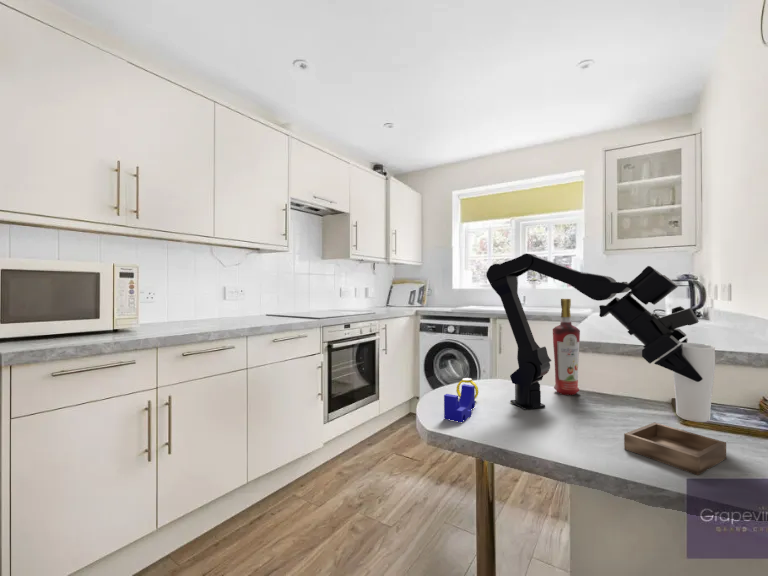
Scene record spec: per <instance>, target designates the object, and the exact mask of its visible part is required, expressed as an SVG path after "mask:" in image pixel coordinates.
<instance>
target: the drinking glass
mask: <svg viewBox="0 0 768 576" xmlns="http://www.w3.org/2000/svg"><path fill="white" fill-rule="evenodd" d="M681 344H683V355H684V356H685V358H686V359H687V360H688V361H689V362H690V363H691V365H692V366H693V367H694V368H695V369H696V371H697V372H698V373H699V374H700V376H701V377H702V378H703V379H702V380H701V381H699V382H696V381H694V380H692V379H690V378H687V377H685V376H683V375H681V374H678V373H676V372H674V371H672V376H673V377H672V378H673V386H674V397H675V413H676V415H677V416H678V417H679V418H681V419H683V420H687V421H691V422H696V423H707V422H709V421H710V419H711V407H712V406H711V405H712V395H713V388H714V383H715V382H714V380H715V372H716V371H715V370H716V350H715V348H716V347H715V346H714V345H711V344H705V343H696V342H687V343H679V344H678V345H677V346H679V345H681Z"/></svg>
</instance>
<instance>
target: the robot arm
mask: <svg viewBox="0 0 768 576" xmlns="http://www.w3.org/2000/svg"><path fill="white" fill-rule="evenodd" d="M529 271H532V272H535V273H538V274H540V275H543V276H546V277H547V278H551V279H554V280H555V281H558V282H561V283H564V284H566V285H569V286H570V287H573V288H574V289H575V290H577V291H578V292H579V293H581V294H583V295H584V296H586V297H588V298H590V299H591V300H593V301H607V300H610V301H609V302H608V303H607V304H606V305H605V304H600V305H599V315H598V316H599V318H605V317H607V316H608V315H609V314H610V315H611V316H612V317H614V319H616V320H617V321H618V322H619V323H620V324H621V325H622V326H623V327H624V328H626V329H627V333H628V334H629V335H630V336H632V335H633V336H634V337H635V338H637V340H639V342H641V344H643V346H642V347H643V349H642V350H641V358H643V359H644V360H645V361H646V362H647V363H648V364H652V363H653V365H657V366H660V367H662V368H665V369H667V370H669V371H672V372H673V371H674V372H676V373H678V374H681V375H683V376H685V377H687V378H690V379H692V380H694V381H696V382H699V381H701V380H702V379H703V378H702V377H701V376H700V374H699V373H698V372H697V371H696V369H695V368H694V367H693V366H692V365H691V363H690V362H689V361H688V360H687V359H686V358H685V356H684V355H683V344H681V345H679V346H677V345H678V344H679V343H688V341H689V340H688V338H687V334H686V333H685V332H684V331H683V330H681V327H685V326H693V325H696V324H698V323H699V322H700V321H699V319H698V317H697V316H696V314H695V312H694V311H693V309H692V307H689V308H684V307H683V306H680V305H679V306H676V307H674V308H672V309H671V313H669V314H666V315H663V316H659V315H658V314H657V313H652V312H650V311H649V310H648V309H647V308H646V307H644V305H645V306H647V305H648V304H649V303H650V304H652V305H654V306H655V305H657V304H658V303H659V302H660V301H661V300H663V299H664V298H665V297H666V296H668V295H670V294H671V293H672V292H673V291H675V290H676V289H677V288H678V287H679V286H678V285H677V284H676V283H675V282H674V281H672V280H671V278H669V277H667V276H666V275H664V274H662V273H660V272H659V271H658V270H656V269H655V268H654V267H652V266H650V265H647V266H646V267H645V268H644V269H643V270H642V271H641V273H639V274H638V275H637V276H636V277H635V278H634V279H632V280H631V281H630V282H628V281H621V282H619V281H617V280H616V279H615V278H613V277H611V276H608V275H602V274H597V273H596V274H595V273H589V272H584V271H579V270H577V269H574V268H571V267H567V266H565V265H562V264H559V263H556V262H553V261H550V260H548V259H545V258H542V257H539V256H538V255H536V254H532V253H524V254H522V255H520V256H518V257H517V256H516V257H515V258H512V259H510V260H507V261H503V262H502V263H493V264H492V265H490V266H489V268H488V269H487V271H486V274H485V275H486V276H485V277H486V278H487V281H488V282H489V284H490V286H491V289H493V290H494V291H495V293H496V294H497V295H498V296H499V298H500V300H501V303H502V305H503V308H504V311H505V314H506V317H507V320H508V323H509V326H510V328H511V332H512V334H513V337H514V340H515V343H516V345H517V354H516V356H517V357H516V359H517V364H518V368H517V369H516V370H514V372H513V373H511V374H510V380H511V383H512V384H514V395H515V396H514V398H515V399H511V400H510V403H511V404H513V405H516V406H517V407H519V408H520V409H521V408H522V409H524V410H529V409H531V410H532V409H539V408H546V404H544V403H542V402H541V401H542V398H541V397H542V395H541V394H542V393H541V392H542V391H541V384H540V383H539V382H540V381H542V380H543V378H544V376H545V375H547V374H548V373H549V371H550V370H551V364H550V362H552V359H551V358H550V357H549V355H548V349H547V347H546V346H541V347H540V345H538V343H537V342H536V341H535V337H534V335H533V332H532V330H531V327H530V323H529V322H528V318H527V316H526V313H525V310H524V308H523V305H522V303H521V300H520V297H519V294H518V278H517V277H520V276H523V275H524V274H525V273H527V272H529ZM624 293H626V294H625V295H624V296H623V297H621V298H619V297H615V296H617V294H624ZM632 295H633V296H634V297H635V298H636V299H637V300H636V299H635V298H634V297H633V296H632ZM639 301H640V302H641V303H642V304H643V305H642V304H641V303H640V302H639ZM682 339H683V340H682Z"/></svg>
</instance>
